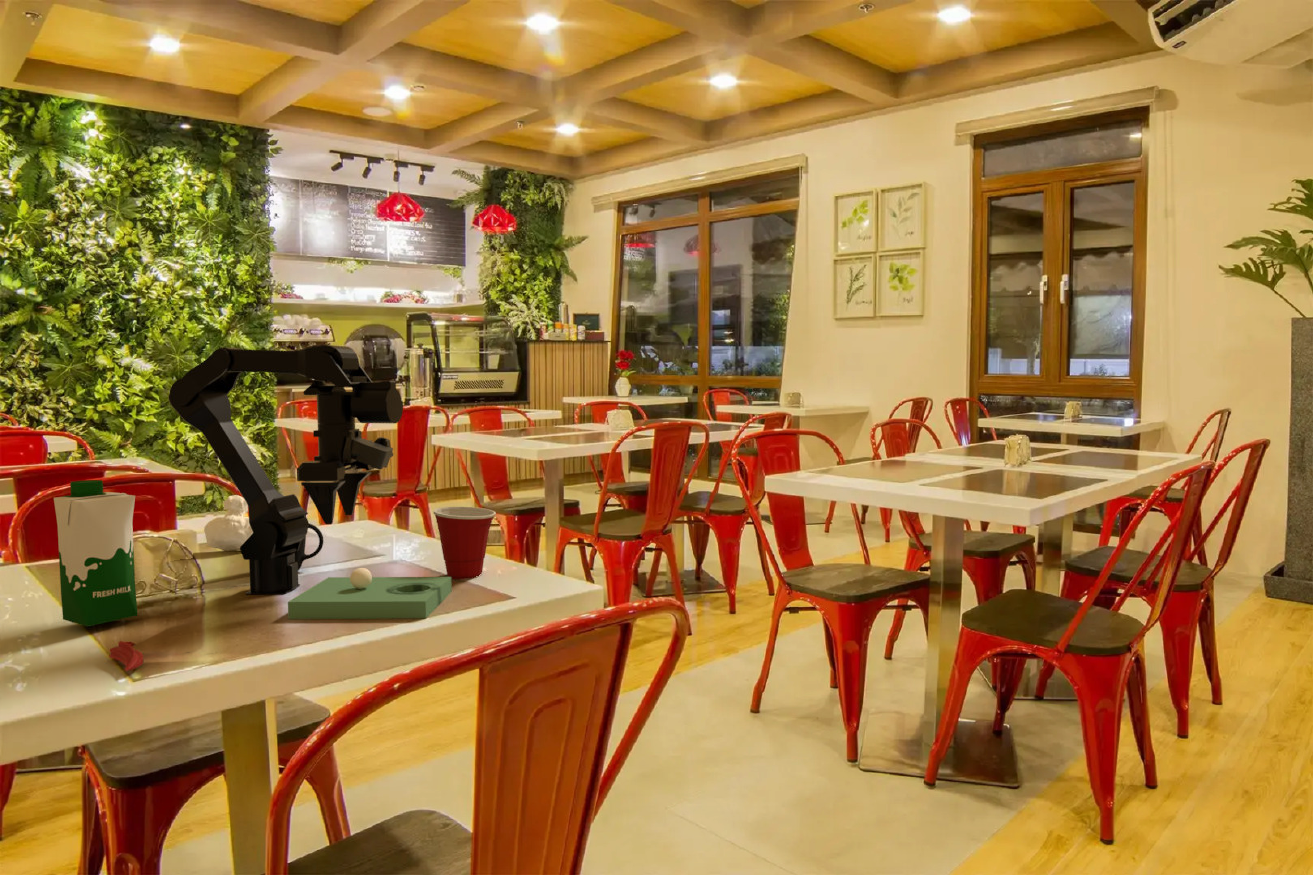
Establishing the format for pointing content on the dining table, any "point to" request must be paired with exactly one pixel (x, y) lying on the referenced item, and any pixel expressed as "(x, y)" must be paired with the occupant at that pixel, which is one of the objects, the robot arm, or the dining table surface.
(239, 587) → the dining table surface
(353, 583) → the ball
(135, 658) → the cayenne pepper
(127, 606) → the milk carton
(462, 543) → the plastic cup
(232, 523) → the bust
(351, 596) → the putting mat
